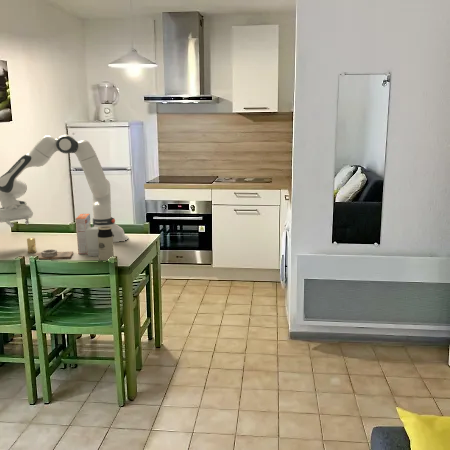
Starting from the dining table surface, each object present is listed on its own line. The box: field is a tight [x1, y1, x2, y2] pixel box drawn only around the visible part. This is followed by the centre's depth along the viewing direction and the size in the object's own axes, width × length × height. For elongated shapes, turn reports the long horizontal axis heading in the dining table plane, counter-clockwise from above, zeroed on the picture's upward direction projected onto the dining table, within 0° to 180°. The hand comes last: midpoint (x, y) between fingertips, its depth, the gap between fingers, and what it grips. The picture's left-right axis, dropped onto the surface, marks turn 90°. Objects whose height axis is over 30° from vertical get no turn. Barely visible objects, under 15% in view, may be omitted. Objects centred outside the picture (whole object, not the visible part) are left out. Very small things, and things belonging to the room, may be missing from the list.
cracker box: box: [75, 213, 92, 255], centre depth 299 cm, size 14×6×21 cm, turn 4°
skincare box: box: [86, 226, 99, 257], centre depth 291 cm, size 8×7×16 cm
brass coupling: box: [26, 237, 37, 254], centre depth 297 cm, size 4×4×8 cm
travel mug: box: [98, 226, 115, 261], centre depth 281 cm, size 8×8×18 cm
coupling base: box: [34, 249, 74, 260], centre depth 288 cm, size 20×11×3 cm, turn 98°
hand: (20, 225), depth 303 cm, fingers open, 8 cm apart
